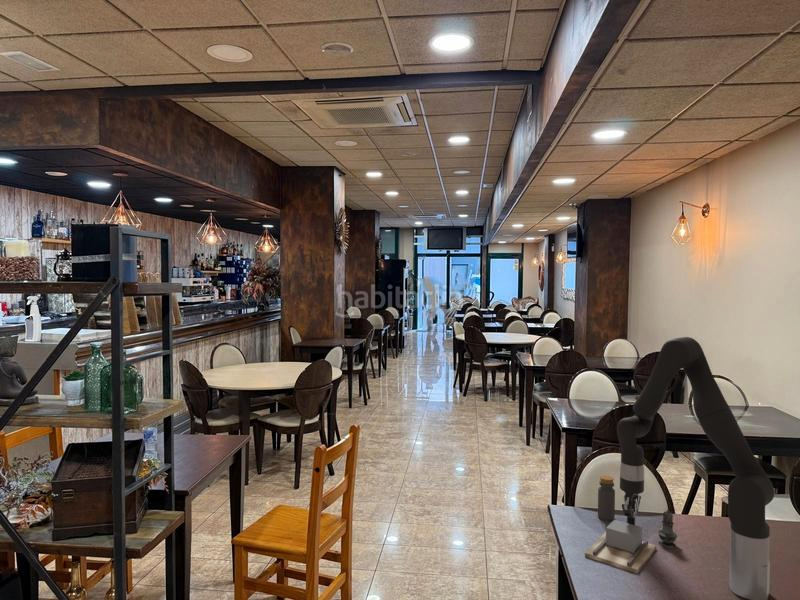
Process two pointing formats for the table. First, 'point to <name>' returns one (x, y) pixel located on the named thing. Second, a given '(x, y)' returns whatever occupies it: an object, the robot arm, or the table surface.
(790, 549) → the table surface
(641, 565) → the board
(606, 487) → the bottle
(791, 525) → the table surface
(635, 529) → the cover
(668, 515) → the salt shaker
